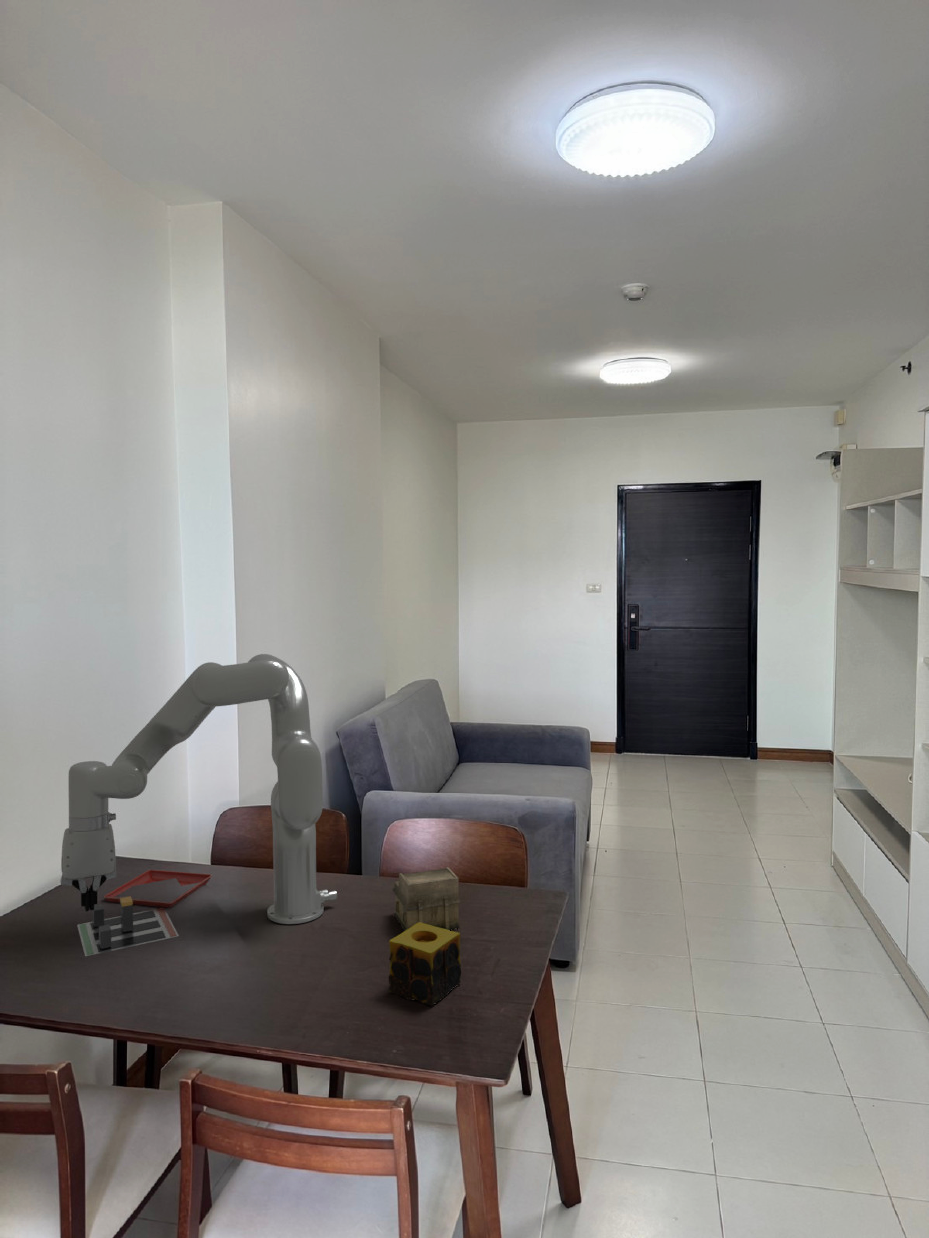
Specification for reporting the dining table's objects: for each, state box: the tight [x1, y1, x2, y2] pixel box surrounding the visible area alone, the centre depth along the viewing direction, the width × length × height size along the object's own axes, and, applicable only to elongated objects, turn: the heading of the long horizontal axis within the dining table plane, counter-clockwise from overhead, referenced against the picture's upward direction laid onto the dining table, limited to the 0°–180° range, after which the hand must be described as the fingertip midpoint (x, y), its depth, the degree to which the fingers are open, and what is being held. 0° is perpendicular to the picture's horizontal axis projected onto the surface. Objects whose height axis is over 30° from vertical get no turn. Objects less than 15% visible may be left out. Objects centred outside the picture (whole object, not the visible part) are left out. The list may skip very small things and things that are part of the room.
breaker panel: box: [76, 907, 180, 957], centre depth 176 cm, size 18×17×2 cm
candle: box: [388, 922, 462, 1007], centre depth 154 cm, size 10×10×10 cm
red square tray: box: [103, 869, 213, 908], centre depth 198 cm, size 18×18×3 cm
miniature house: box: [392, 866, 462, 932], centre depth 183 cm, size 15×14×11 cm
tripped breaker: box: [119, 895, 134, 932], centre depth 176 cm, size 2×3×6 cm
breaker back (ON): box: [91, 903, 105, 927], centre depth 179 cm, size 2×3×4 cm, turn 30°
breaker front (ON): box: [99, 924, 112, 949], centre depth 168 cm, size 2×3×4 cm, turn 30°
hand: (89, 908), depth 172 cm, fingers closed
